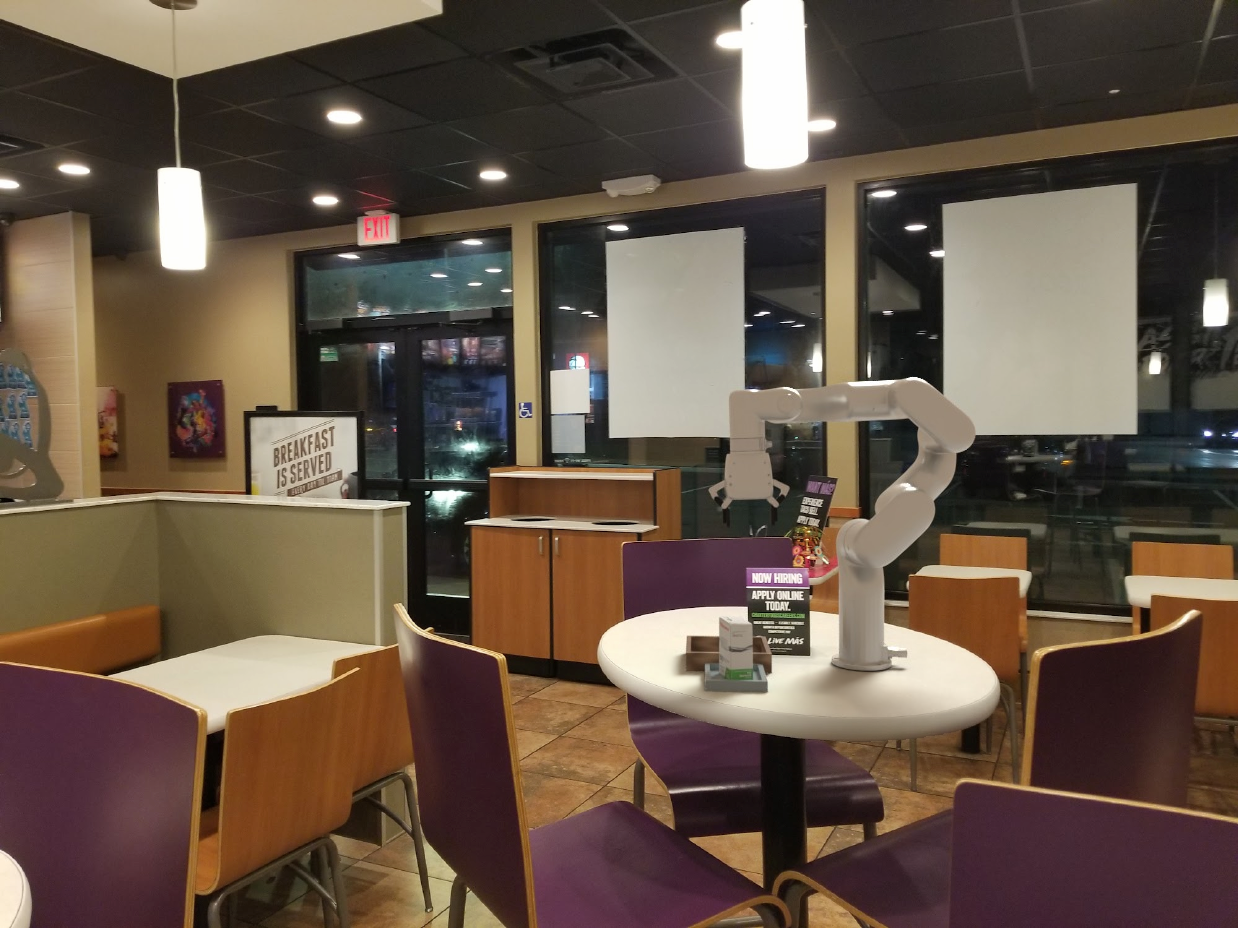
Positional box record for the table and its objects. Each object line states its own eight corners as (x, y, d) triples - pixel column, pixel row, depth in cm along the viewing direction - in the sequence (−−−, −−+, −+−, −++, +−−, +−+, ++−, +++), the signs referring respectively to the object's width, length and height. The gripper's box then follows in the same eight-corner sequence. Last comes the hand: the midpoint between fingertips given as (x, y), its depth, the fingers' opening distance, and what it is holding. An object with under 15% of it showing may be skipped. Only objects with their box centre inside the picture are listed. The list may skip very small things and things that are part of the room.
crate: (765, 653, 201) (765, 636, 200) (771, 672, 184) (771, 653, 184) (686, 652, 202) (686, 635, 202) (685, 671, 185) (685, 652, 185)
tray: (762, 673, 183) (762, 663, 183) (767, 691, 169) (767, 681, 169) (704, 672, 184) (704, 662, 184) (705, 690, 170) (705, 680, 170)
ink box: (754, 682, 173) (754, 623, 173) (730, 683, 172) (729, 624, 172) (741, 671, 182) (741, 614, 181) (718, 672, 181) (717, 615, 181)
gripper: (785, 445, 192) (787, 523, 193) (706, 448, 193) (708, 525, 193) (790, 445, 185) (793, 526, 185) (708, 448, 185) (711, 528, 186)
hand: (749, 526), depth 189 cm, fingers open, 9 cm apart
